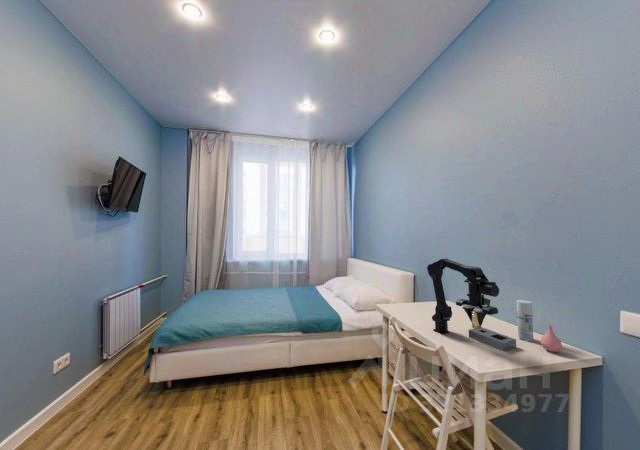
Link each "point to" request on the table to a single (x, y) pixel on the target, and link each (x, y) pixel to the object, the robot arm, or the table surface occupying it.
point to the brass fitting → (475, 320)
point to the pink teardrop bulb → (551, 341)
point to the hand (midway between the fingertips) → (476, 323)
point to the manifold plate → (493, 339)
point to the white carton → (525, 320)
